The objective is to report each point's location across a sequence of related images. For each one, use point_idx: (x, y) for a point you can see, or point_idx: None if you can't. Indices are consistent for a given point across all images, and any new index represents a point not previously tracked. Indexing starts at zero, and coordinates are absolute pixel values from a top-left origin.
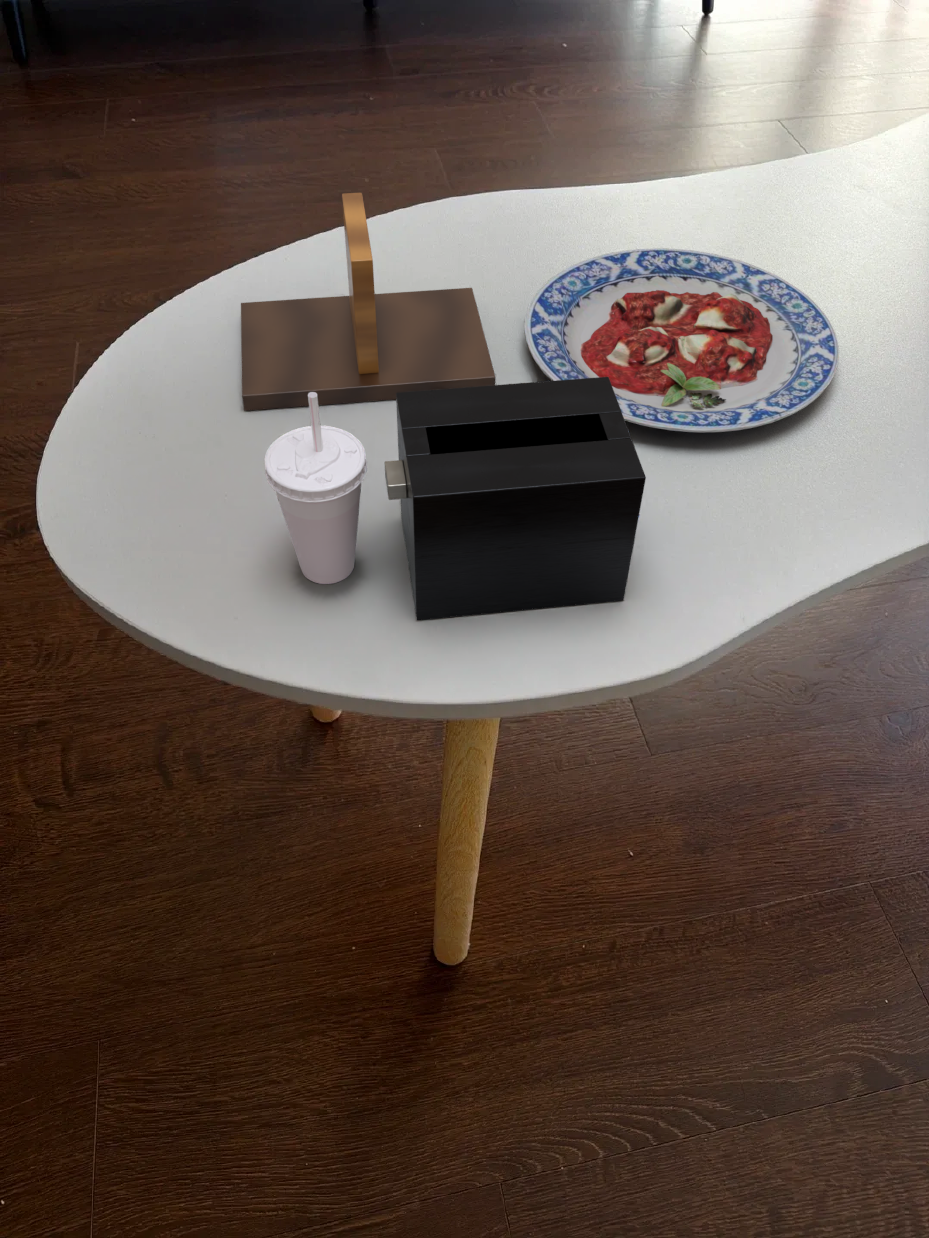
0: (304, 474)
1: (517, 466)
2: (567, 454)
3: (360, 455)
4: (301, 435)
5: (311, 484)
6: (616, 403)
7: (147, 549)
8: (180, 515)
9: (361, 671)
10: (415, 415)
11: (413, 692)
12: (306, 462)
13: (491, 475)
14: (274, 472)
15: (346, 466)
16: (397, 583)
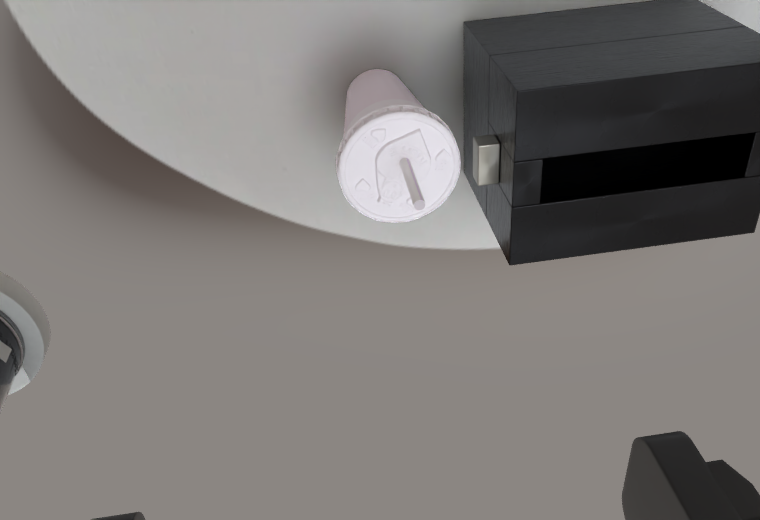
0: (388, 204)
1: (629, 220)
2: (690, 201)
3: (454, 167)
4: (382, 134)
5: (395, 211)
6: None
7: (162, 71)
8: (187, 12)
9: (408, 225)
10: (535, 138)
11: (451, 244)
12: (390, 185)
13: (598, 234)
14: (352, 195)
15: (436, 184)
16: (449, 123)
